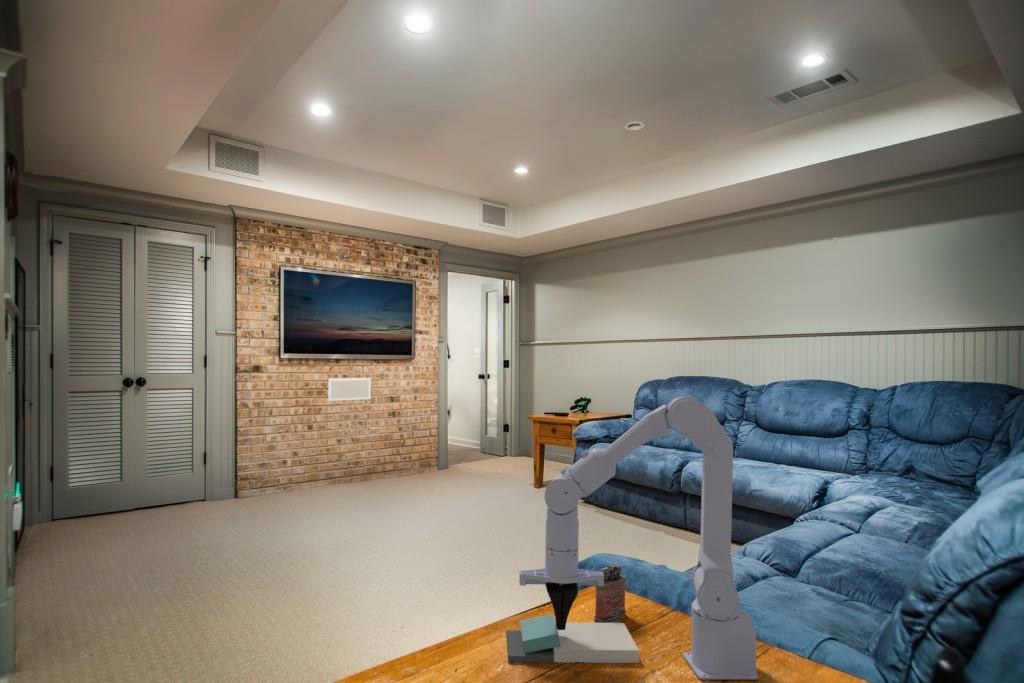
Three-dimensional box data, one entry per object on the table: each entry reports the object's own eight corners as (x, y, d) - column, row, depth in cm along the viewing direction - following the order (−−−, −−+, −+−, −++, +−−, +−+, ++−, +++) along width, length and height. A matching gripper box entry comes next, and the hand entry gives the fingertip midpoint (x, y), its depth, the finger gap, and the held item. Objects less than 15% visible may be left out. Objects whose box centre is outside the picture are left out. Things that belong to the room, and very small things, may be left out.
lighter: (615, 610, 114) (616, 559, 114) (629, 615, 111) (630, 563, 112) (590, 620, 108) (590, 567, 109) (604, 626, 106) (604, 572, 107)
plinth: (623, 634, 103) (623, 622, 103) (638, 662, 92) (639, 650, 92) (547, 633, 102) (547, 622, 102) (554, 662, 92) (554, 649, 92)
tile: (554, 624, 101) (552, 613, 101) (560, 645, 93) (558, 633, 93) (522, 631, 100) (519, 620, 101) (524, 653, 92) (522, 641, 93)
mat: (547, 636, 101) (547, 630, 101) (554, 662, 92) (554, 656, 92) (506, 635, 101) (506, 630, 101) (508, 662, 91) (508, 656, 92)
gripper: (598, 540, 102) (597, 617, 101) (519, 539, 102) (517, 617, 101) (606, 552, 95) (605, 635, 94) (521, 551, 95) (519, 635, 94)
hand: (560, 627), depth 97 cm, fingers closed
